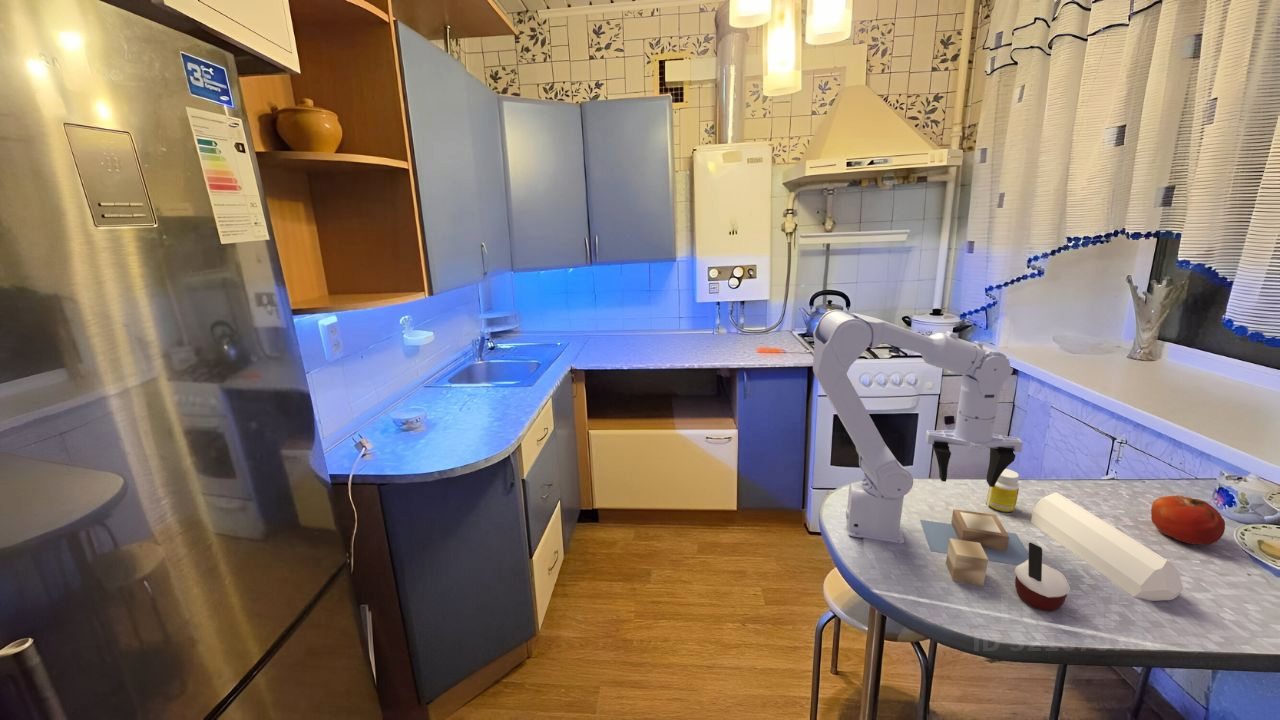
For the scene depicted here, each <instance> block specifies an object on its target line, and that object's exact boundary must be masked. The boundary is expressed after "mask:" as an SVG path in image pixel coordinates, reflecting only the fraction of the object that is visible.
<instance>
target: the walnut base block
mask: <svg viewBox="0 0 1280 720" xmlns="http://www.w3.org/2000/svg"><path fill="white" fill-rule="evenodd" d="M950 524H952V526H953V528H954V530H955V532H956V535H957V537H958V539H959V540H965V541H971V542H978V543H980V544H981V546H982V548H986V549H993V550H999V551H1007V546H1008V541H1009V536H1008V534H1007V532H1008V531H1006V529H1005V527H1004V526H1003V524H1002V522H1001V521H1000V519H999V518H998V516H997V514H991V513H985V512H976V511H971V510H970V511H968V510H963V509H955V508H953V510H952V516H951V523H950Z"/></svg>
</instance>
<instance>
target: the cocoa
mask: <svg viewBox="0 0 1280 720" xmlns="http://www.w3.org/2000/svg"><path fill="white" fill-rule="evenodd" d="M1028 553H1029V559H1028V560H1026V561H1025V562H1024V563H1022V564H1020V565H1015V569H1014V573H1015V580H1014V584H1015V589H1016V593H1017V595H1018V597H1019V598H1020V599H1021V601H1023V602H1024V603H1025V604H1027V605H1029V607H1032V608H1034V609H1037V610H1040V611H1042V612H1043V611H1044V612H1054V611H1057V610H1059V609H1060V608H1061V607H1062V606H1063V604H1064V603H1065V601H1066V598H1067V596H1068V593H1070V592H1071V587H1070V585H1069V583H1068V580H1067V578H1066V576H1065V575H1064V574H1063V573H1062V572H1060V571H1058V570H1057V569H1055V568H1052V567H1050V566H1049V565H1047V564H1045V563H1043V548H1042V547H1041V546H1040V545H1037V544H1035V543H1033V542H1028Z"/></svg>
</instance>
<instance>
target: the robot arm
mask: <svg viewBox="0 0 1280 720" xmlns="http://www.w3.org/2000/svg"><path fill="white" fill-rule="evenodd" d="M812 335H813V341H814V343H813V344H814V346H813V363H812V372H813V374H814V377H815V378H816V380H817V381H818V383H819V385H820V386H821V388H822V390H823V392H824V393H825V395H826V397H827V398H828V400H829V402H830V404H831V406H832V408H833V409H834V411H835V413H836V415H837V416H838V418H839V419H840V422H841V423H842V425H843V427H844V429H845V431H846V432H847V434H848V435H849V438H850V439H851V441H852V443H853V444H854V446H855V451H856V453H857V454H858V465H859V468H860V469H861V471H862V472H863V478H862V481H861V482H855V483H854V482H853V483H851V482H850V483H849V486H848V487H849V488H848V496H847V508H846V509H845V510H846V512H845V519H846V522H847V525H846V526H847V534H848V535H849V536H850V537H854V538H860V539H861V538H862V539H864V538H868V539H873V540H874V539H875V540H880V541H885V542H892V543H897V544H899V543H900V544H905V540H904V535H903V532H902V528H901V522H902V521H901V520H902V512H903V504H904V497H905V496H906V495H907V494H909V492H911V490H912V488H913V485H914V478H913V475H912V473H911V472H910V471H909V470H908V469H907V468H906V467H904V466H903V465H902V463H900V462H899V461H898V460H897V458H896V457H895V455H894V454H893V453H892V451H891V450H890V448H889V447H888V446H887V444H886V443H885V442H886V441H884V439H883V437H882V435H881V433H880V432H879V430H878V428H877V427H876V425H875V422H874V421H873V419H872V418H871V416H870V414H869V412H868V409H867V408H866V407H865V405H864V403H863V401H862V400H861V398H860V396H859V394H858V393H857V390H856V389H855V387H854V386H853V384H852V382H851V379H850V378H849V376H848V372H849V369H850V367H851V366H852V365H853V364H854V363H855V362H856V361H857V360H858V358H860V356H862V354H863V353H865V351H866V350H867V349H868V347H869V348H870V349H873V350H874V349H875V348H877V347H879V346H880V345H882V344H886V345H890V346H893V347H896V348H900V349H902V350H903V349H904V350H907V351H911V352H915V353H918V354H920V355H921V357H922V360H923V361H924V362H925V364H928V365H930V366H933V367H937V368H939V369H942V370H946V371H949V372H952V373H954V374H958V375H962V376H961V385H960V390H959V391H960V392H959V398H958V405H957V412H956V421H955V427H954V429H943V430H942V429H940V430H931V429H930V430H928V429H926V432H925V442H926V444H927V445H931V446H932V447H933V450H934V453H935V456H936V459H937V464H938V465H937V466H938V474H939V475H938V477H939V479H940V480H941V482H945V483H946V482H947V478H948V467H949V463H950V459H951V456H952V452H951V450H950V445H953V446H962V447H963V446H965V447H971V448H973V449H978V450H985V449H987V448H988V449H990V450H989V464H988V469H987V474H986V483H987V484H988V485H989V486H990V487H994V486H995V484H996V482H997V480H998V478H999V477H1000V475H1001V474H1002V472H1003V471H1004V470H1005V469H1007V468H1008V466H1010V465H1011V464H1012V463H1013V462H1014V461H1015V459H1016V454H1015V453H1021V452H1022V450H1023V449H1022V448H1023V445H1024V444H1023V443H1024V442H1023V441H1022V439H1020V438H1019V437H1015V436H1008V435H1002V434H995V433H994V430H995V426H996V425H995V424H996V418H997V412H998V405H999V401H1000V400H999V399H1000V396H1001V395H1000V394H1001V392H1003V386H1004V383H1006V382H1007V381H1008V380H1009V379H1010V377H1011V376H1012V373H1013V371H1014V368H1013V367H1011V364H1010V363H1011V362H1010V359H1009V357H1007V355H1005V354H1004V353H1002V352H999V351H997V350H994V349H992V348H989V347H987V346H986V345H984V344H983V343H982V342H980V341H976V340H974V341H973V342H970V341H967V340H965V339H962V338H959V337H958V336H959V335H958V334H957V333H954V332H952V331H948V330H947V331H946V332H945V333H944V332H935V333H933V334H931V335H928V336H927V335H925V334H921V333H919V332H917V331H916V332H915V331H914V330H910V329H908V328H905V327H902V326H901V325H900V326H899V325H897V324H894V323H891V322H889V321H886V320H883V319H879V318H877V317H872V316H868V315H865V314H861V313H855V312H850V314H849V313H848V312H846V311H844V310H842V309H832V310H829V311H827V312H825V313H824V314H823V315H822V316H821V317H820V319H819V320H818V321H817V324H816V326H815V328H814V330H813V333H812ZM989 486H988V487H989Z"/></svg>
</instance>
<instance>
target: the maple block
mask: <svg viewBox="0 0 1280 720" xmlns="http://www.w3.org/2000/svg"><path fill="white" fill-rule="evenodd" d="M988 564H989V561H988V558H987V556H986V554H985V552H984V550H983V548H982V546H981V544H980V543H978V542H971V541H965V540H958V539H952V538H950V540H949V547H948V553H947V554H946V559H945V566H946V567H947V570H948V573H949V575H950V577H951V580H952V581H954V582H961V583H966V584H973V585H976V586H982V587H983V586H984V585H985V579H986V573H987V570H988Z"/></svg>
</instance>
